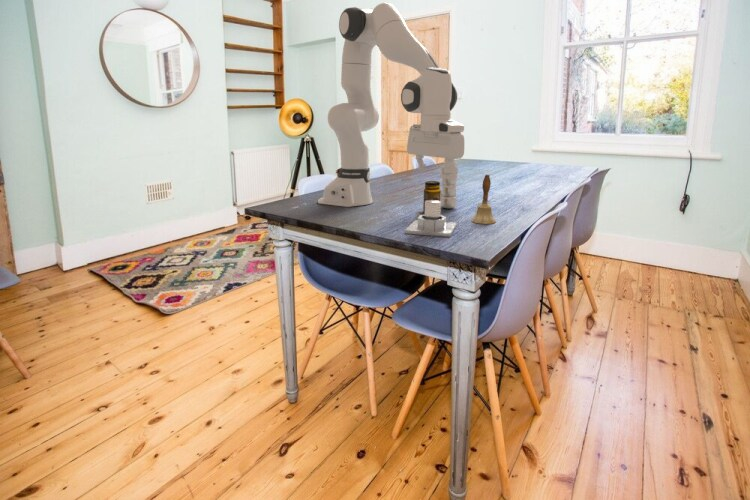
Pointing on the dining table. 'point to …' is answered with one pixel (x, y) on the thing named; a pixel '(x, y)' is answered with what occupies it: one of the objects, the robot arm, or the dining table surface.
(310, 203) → the dining table surface
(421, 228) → the duct flange
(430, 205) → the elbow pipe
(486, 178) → the hand bell
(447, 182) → the plastic bottle
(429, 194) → the condiment
